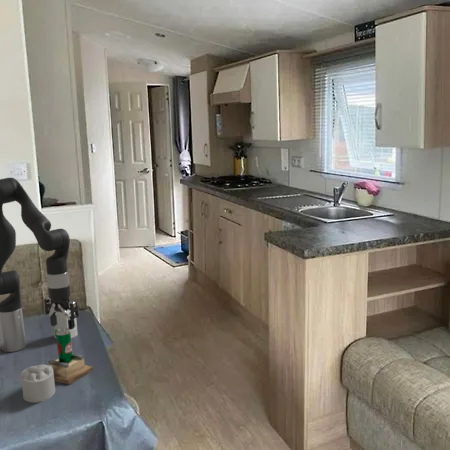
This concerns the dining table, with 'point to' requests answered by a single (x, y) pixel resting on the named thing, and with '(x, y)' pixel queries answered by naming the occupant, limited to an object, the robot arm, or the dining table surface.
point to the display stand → (70, 369)
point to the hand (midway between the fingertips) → (62, 327)
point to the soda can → (64, 345)
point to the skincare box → (64, 324)
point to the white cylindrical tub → (38, 383)
